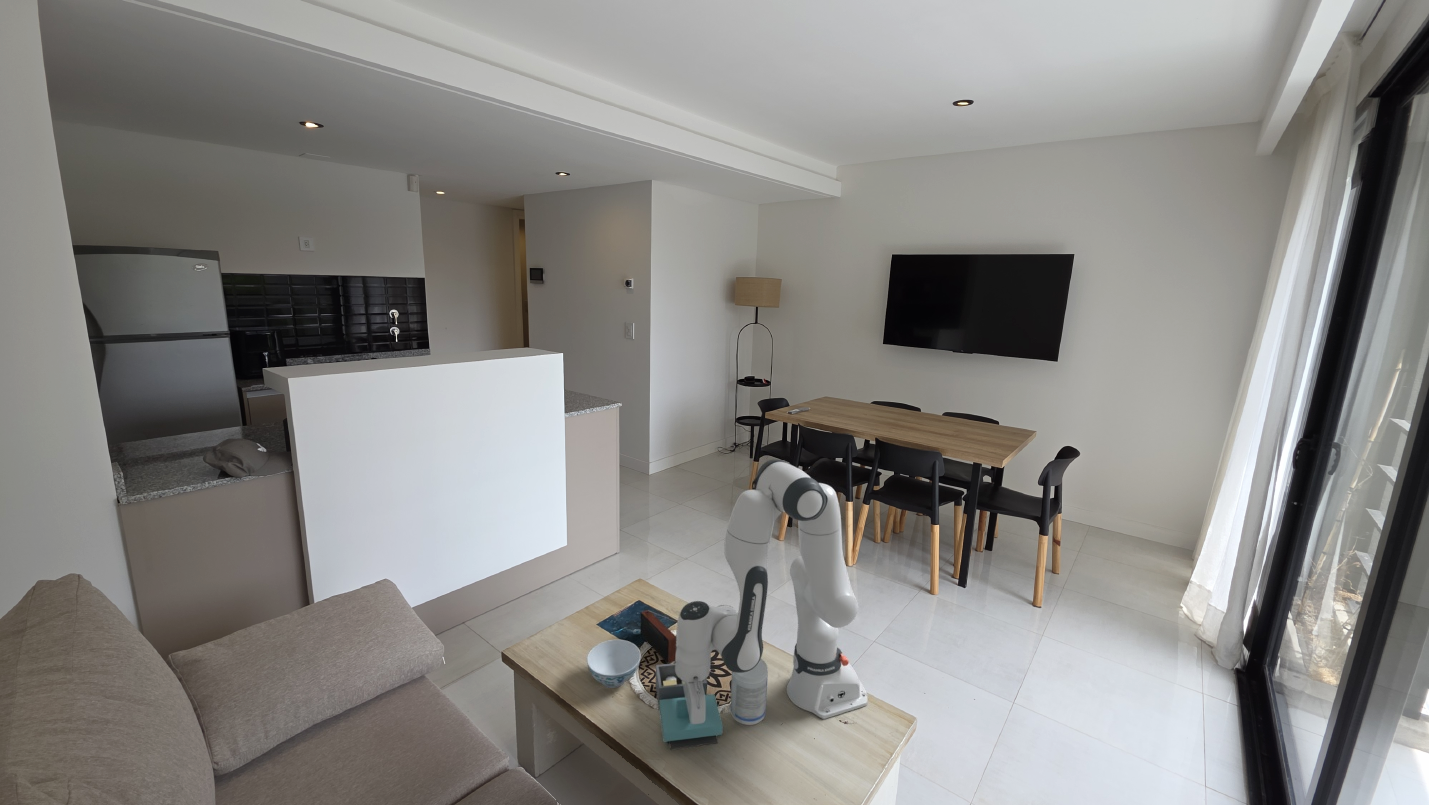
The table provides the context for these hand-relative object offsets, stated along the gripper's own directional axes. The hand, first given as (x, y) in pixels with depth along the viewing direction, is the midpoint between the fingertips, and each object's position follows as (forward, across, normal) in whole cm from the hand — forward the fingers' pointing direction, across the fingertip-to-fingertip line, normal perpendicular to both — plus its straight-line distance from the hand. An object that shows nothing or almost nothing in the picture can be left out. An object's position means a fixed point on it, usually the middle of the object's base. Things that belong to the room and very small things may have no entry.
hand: (690, 710), depth 146 cm
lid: (+3, 0, 0) cm, 3 cm away
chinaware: (+6, +21, +19) cm, 29 cm away
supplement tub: (+6, +3, -16) cm, 18 cm away
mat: (+6, 0, 0) cm, 6 cm away
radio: (+6, +32, +5) cm, 33 cm away
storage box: (+6, +12, +1) cm, 13 cm away
